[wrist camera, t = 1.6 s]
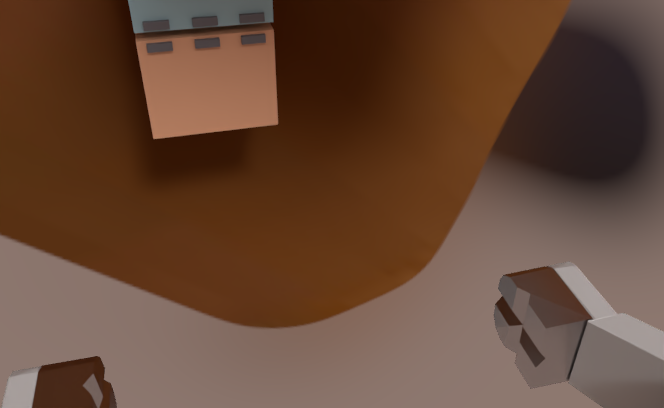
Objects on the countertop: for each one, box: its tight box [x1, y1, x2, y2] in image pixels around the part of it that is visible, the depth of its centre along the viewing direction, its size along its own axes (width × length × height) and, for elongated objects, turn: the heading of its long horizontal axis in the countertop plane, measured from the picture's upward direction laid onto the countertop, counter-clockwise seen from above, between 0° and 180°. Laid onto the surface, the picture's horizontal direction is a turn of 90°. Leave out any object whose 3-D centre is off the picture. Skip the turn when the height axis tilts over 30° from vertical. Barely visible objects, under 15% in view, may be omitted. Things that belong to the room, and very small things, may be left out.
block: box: [135, 22, 278, 139], centre depth 26 cm, size 5×4×5 cm
